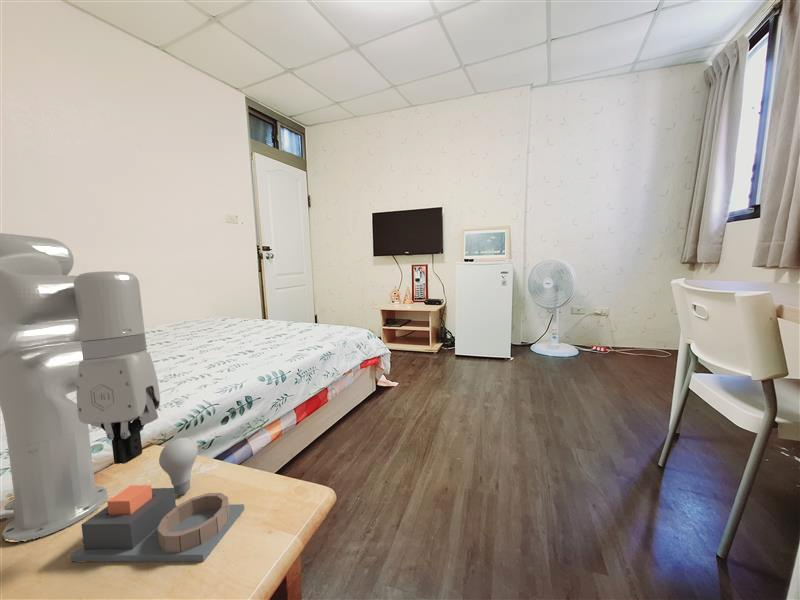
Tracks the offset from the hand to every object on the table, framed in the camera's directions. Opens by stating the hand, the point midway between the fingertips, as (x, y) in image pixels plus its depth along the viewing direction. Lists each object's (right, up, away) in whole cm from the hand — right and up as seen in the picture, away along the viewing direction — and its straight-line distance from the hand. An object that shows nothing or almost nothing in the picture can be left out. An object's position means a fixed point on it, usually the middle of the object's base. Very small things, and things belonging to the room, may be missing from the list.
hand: (128, 458), depth 48 cm
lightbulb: (+1, -13, +10) cm, 16 cm away
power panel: (+6, -13, 0) cm, 14 cm away
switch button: (0, -10, +1) cm, 10 cm away
